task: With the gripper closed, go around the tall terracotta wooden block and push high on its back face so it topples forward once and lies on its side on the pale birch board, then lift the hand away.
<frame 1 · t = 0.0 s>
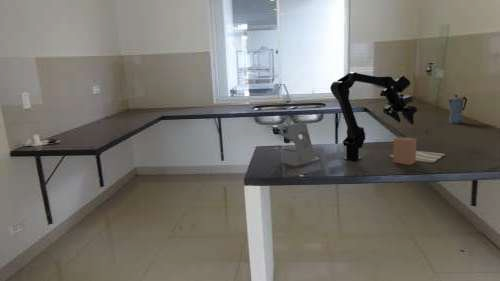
hand: (406, 123, 188), 15 cm above the worktop, tool tilted 35°, fingers open, 9 cm apart
terracotta block: (404, 162, 172), on the worktop
phone holder: (300, 161, 182), on the worktop
moka pot: (455, 122, 266), on the worktop
birch board: (416, 156, 181), on the worktop
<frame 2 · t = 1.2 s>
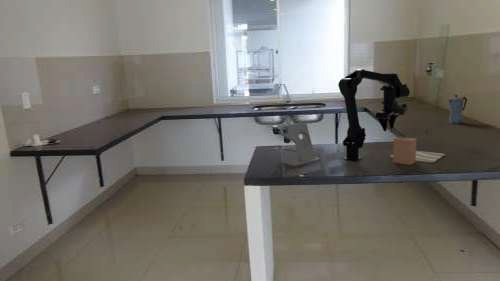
hand: (388, 130, 187), 12 cm above the worktop, tool pointing down, fingers open, 8 cm apart
nothing on the worktop moved.
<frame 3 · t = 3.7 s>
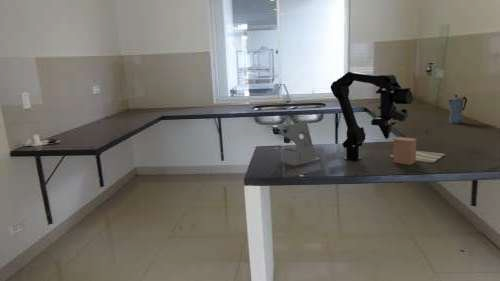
hand: (386, 138, 166), 12 cm above the worktop, tool pointing down, fingers closed
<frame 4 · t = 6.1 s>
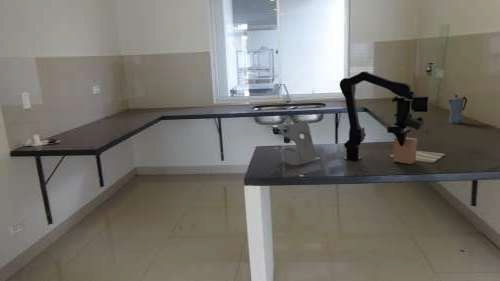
hand: (401, 145, 168), 8 cm above the worktop, tool pointing down, fingers closed
terracotta block: (404, 161, 172), on the worktop, touching gripper
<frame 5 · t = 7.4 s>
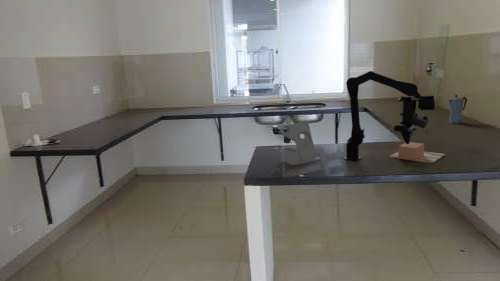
hand: (407, 143, 173), 8 cm above the worktop, tool pointing down, fingers closed
terracotta block: (406, 153, 174), point 4 cm above the worktop, tilted 90°, touching birch board
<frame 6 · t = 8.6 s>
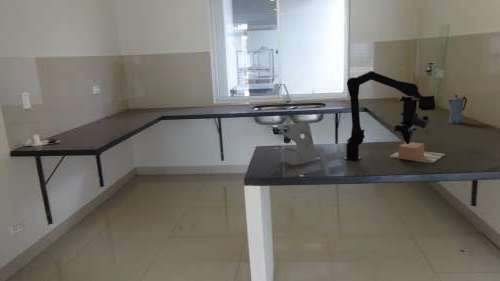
hand: (407, 143, 173), 8 cm above the worktop, tool pointing down, fingers closed
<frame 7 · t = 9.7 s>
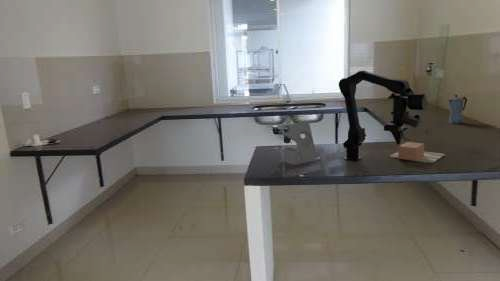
hand: (398, 144, 165), 10 cm above the worktop, tool pointing down, fingers closed
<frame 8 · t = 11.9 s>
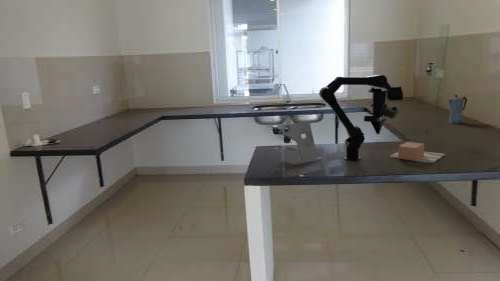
hand: (378, 134, 179), 12 cm above the worktop, tool pointing down, fingers closed
at the end: terracotta block tilted 90°; terracotta block touching birch board; terracotta block inside the target area (1.7 cm from its centre), point 3.6 cm above the worktop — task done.
